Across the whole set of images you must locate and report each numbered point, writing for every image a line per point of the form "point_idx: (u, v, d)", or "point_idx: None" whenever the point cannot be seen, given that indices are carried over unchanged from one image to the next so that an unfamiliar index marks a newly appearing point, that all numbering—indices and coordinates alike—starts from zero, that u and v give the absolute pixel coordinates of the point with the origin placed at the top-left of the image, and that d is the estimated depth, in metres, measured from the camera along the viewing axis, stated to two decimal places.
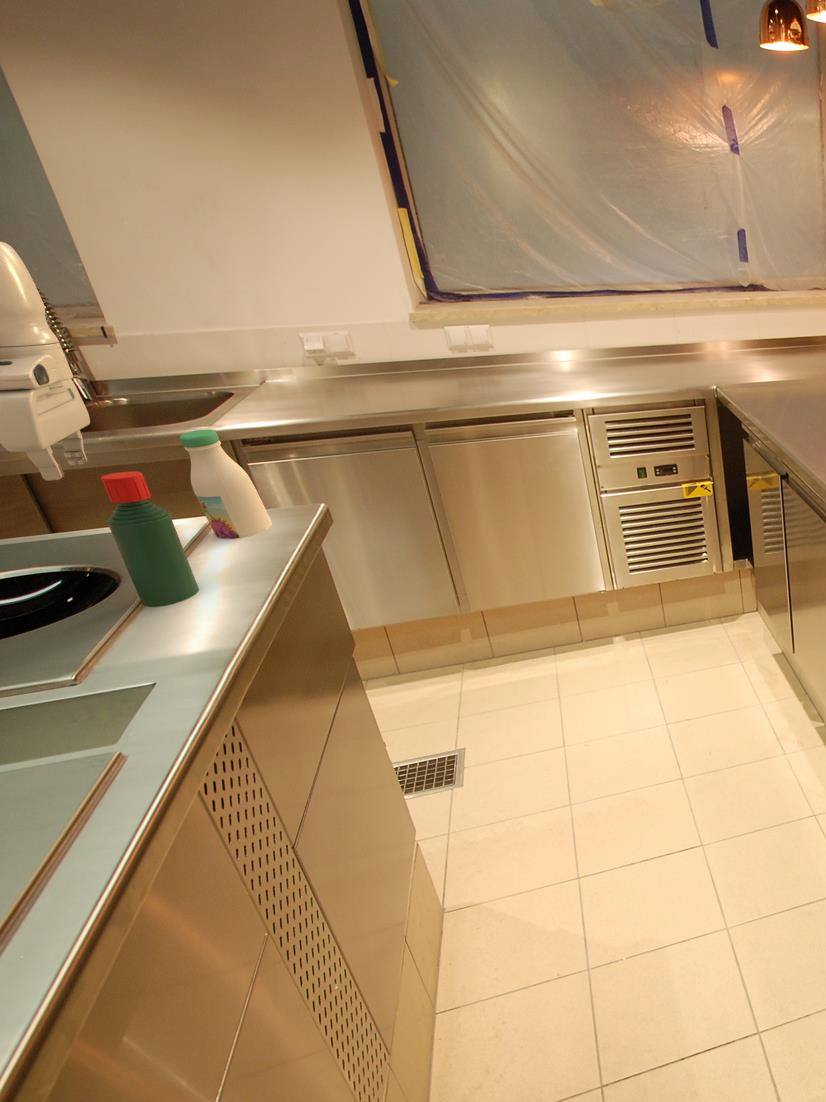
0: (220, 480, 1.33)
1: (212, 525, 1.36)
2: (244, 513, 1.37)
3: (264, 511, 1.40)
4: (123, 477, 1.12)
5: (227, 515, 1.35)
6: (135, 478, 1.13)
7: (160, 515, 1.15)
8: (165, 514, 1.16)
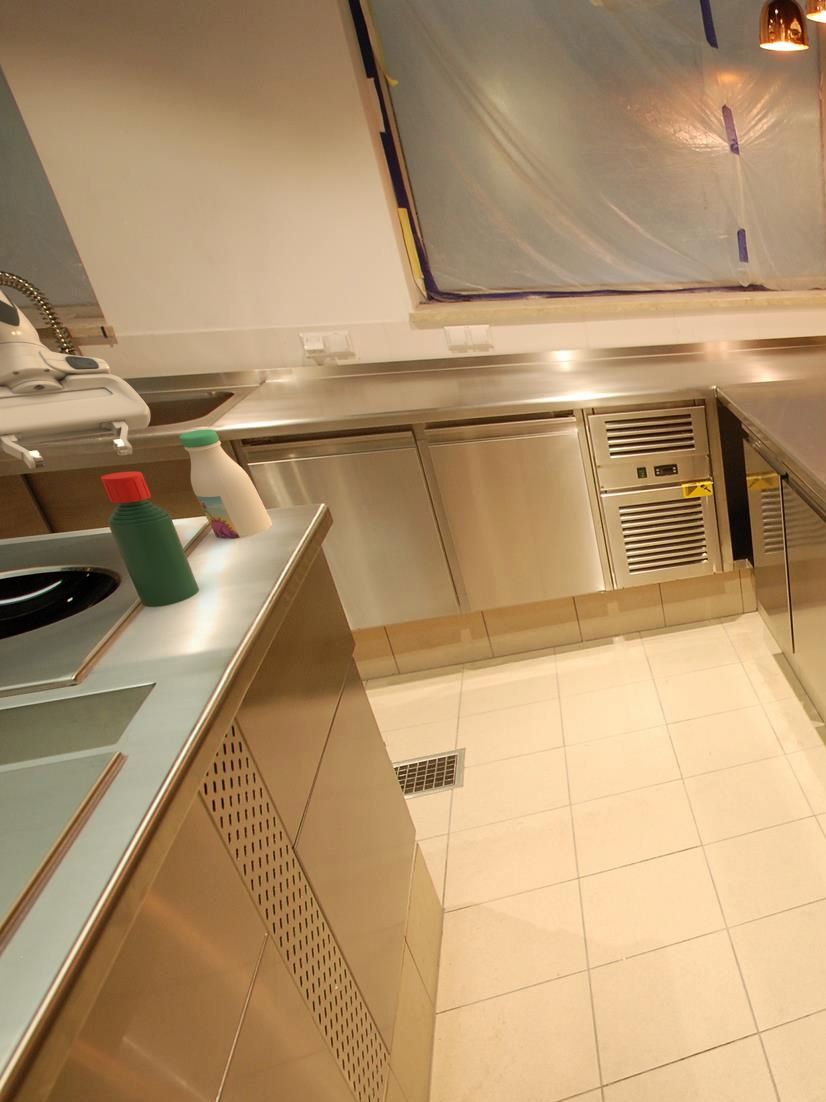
0: (220, 480, 1.33)
1: (212, 525, 1.36)
2: (244, 513, 1.37)
3: (264, 511, 1.40)
4: (123, 477, 1.12)
5: (227, 515, 1.35)
6: (135, 478, 1.13)
7: (160, 515, 1.15)
8: (165, 514, 1.16)
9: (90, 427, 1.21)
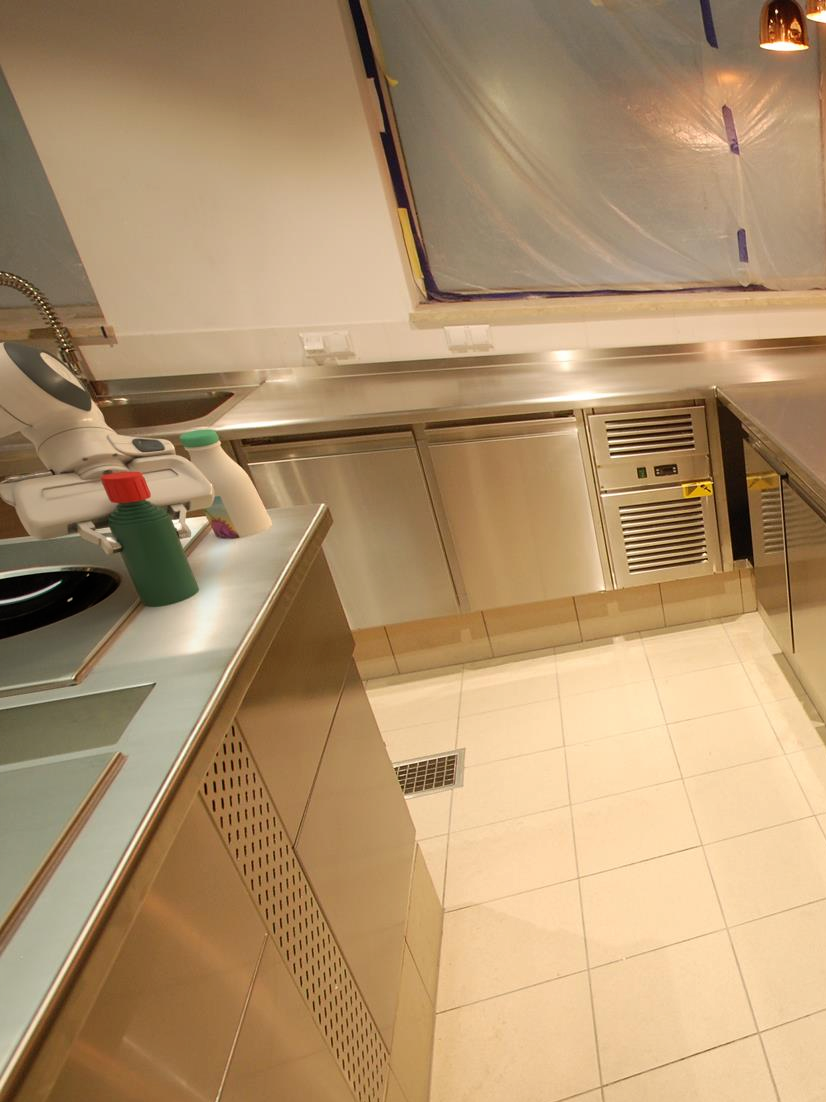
0: (220, 480, 1.33)
1: (212, 525, 1.36)
2: (244, 513, 1.37)
3: (264, 511, 1.40)
4: (123, 477, 1.12)
5: (227, 515, 1.35)
6: (135, 478, 1.13)
7: (160, 515, 1.15)
8: (165, 514, 1.16)
9: None
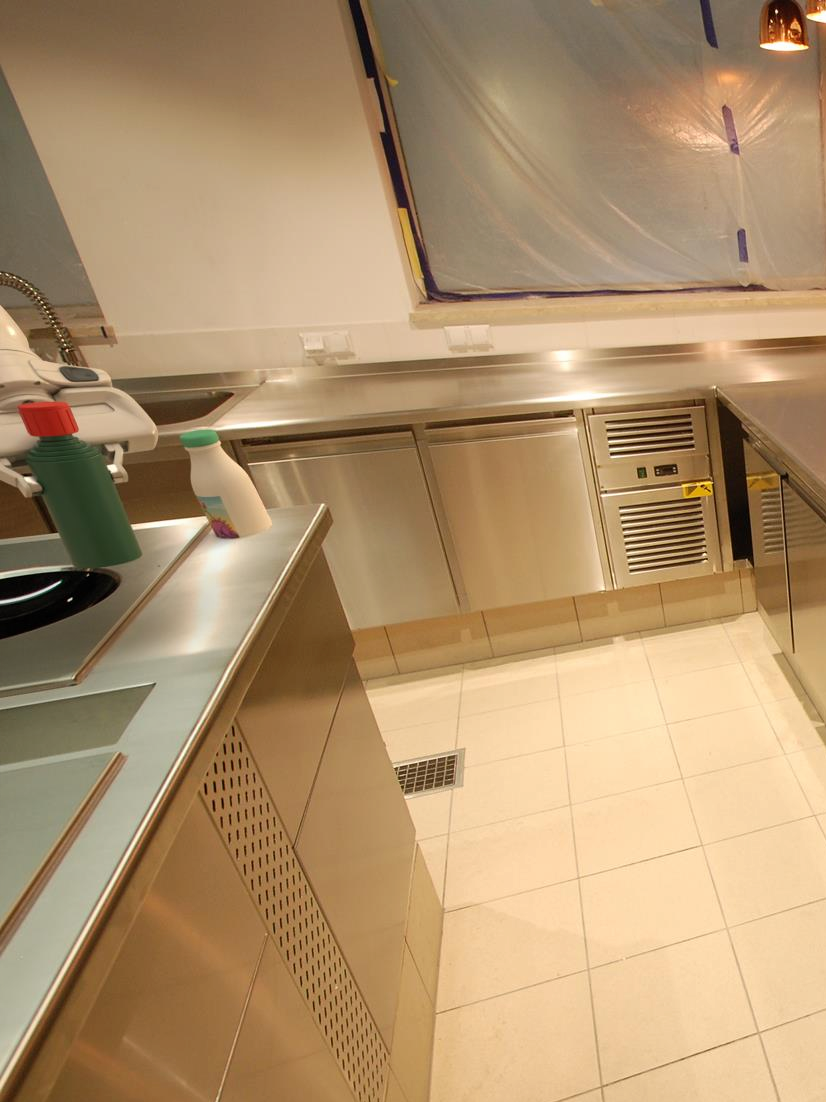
0: (220, 480, 1.33)
1: (212, 525, 1.36)
2: (244, 513, 1.37)
3: (264, 511, 1.40)
4: (44, 406, 0.96)
5: (227, 515, 1.35)
6: (58, 408, 0.96)
7: (89, 453, 0.99)
8: (96, 452, 1.00)
9: None
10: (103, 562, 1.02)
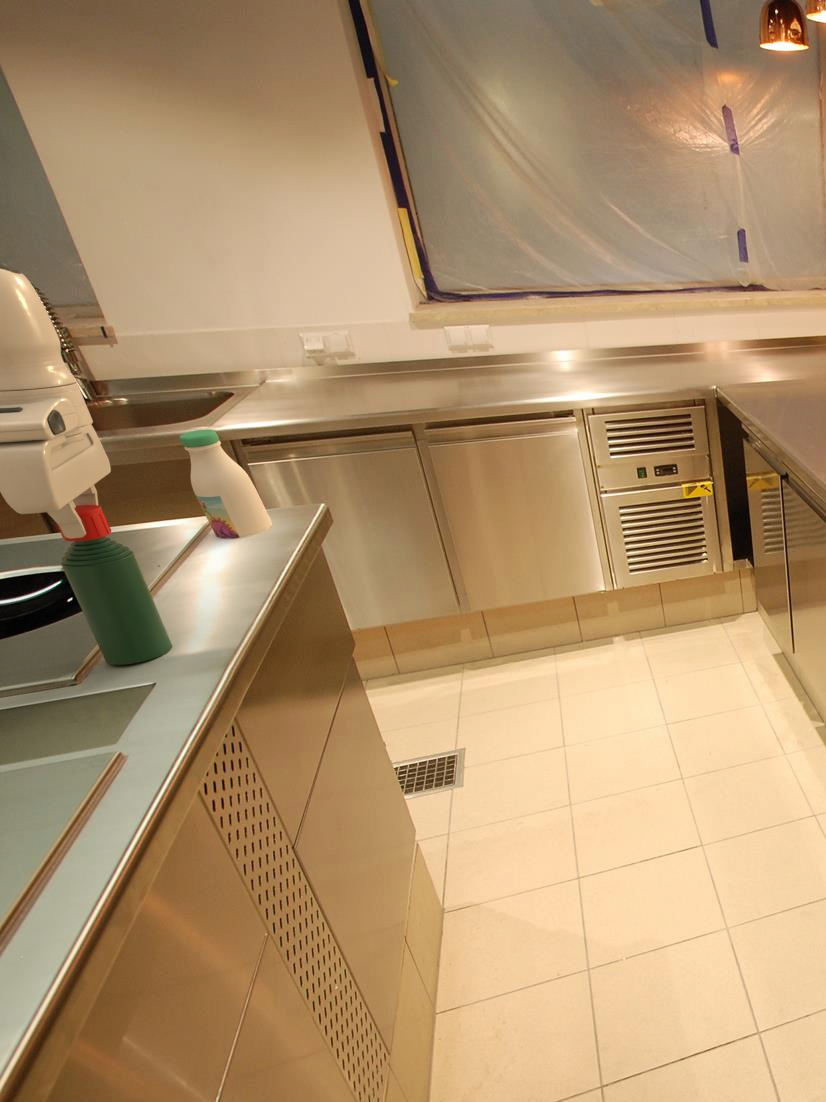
0: (220, 480, 1.33)
1: (212, 525, 1.36)
2: (244, 513, 1.37)
3: (264, 511, 1.40)
4: (78, 512, 0.98)
5: (227, 515, 1.35)
6: (92, 513, 0.99)
7: (122, 554, 1.01)
8: (128, 553, 1.02)
9: None
10: (135, 658, 1.04)
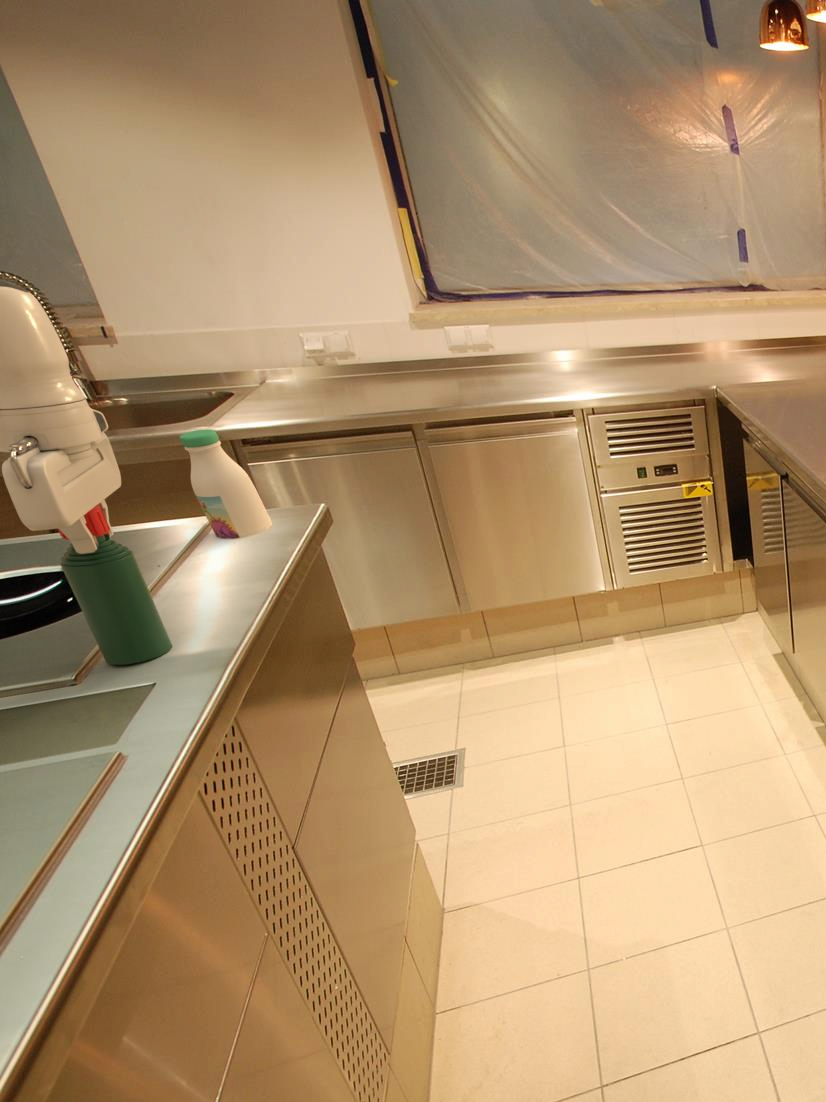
0: (220, 480, 1.33)
1: (212, 525, 1.36)
2: (244, 513, 1.37)
3: (264, 511, 1.40)
4: None
5: (227, 515, 1.35)
6: None
7: (121, 554, 1.01)
8: (127, 553, 1.02)
9: None
10: (135, 658, 1.04)
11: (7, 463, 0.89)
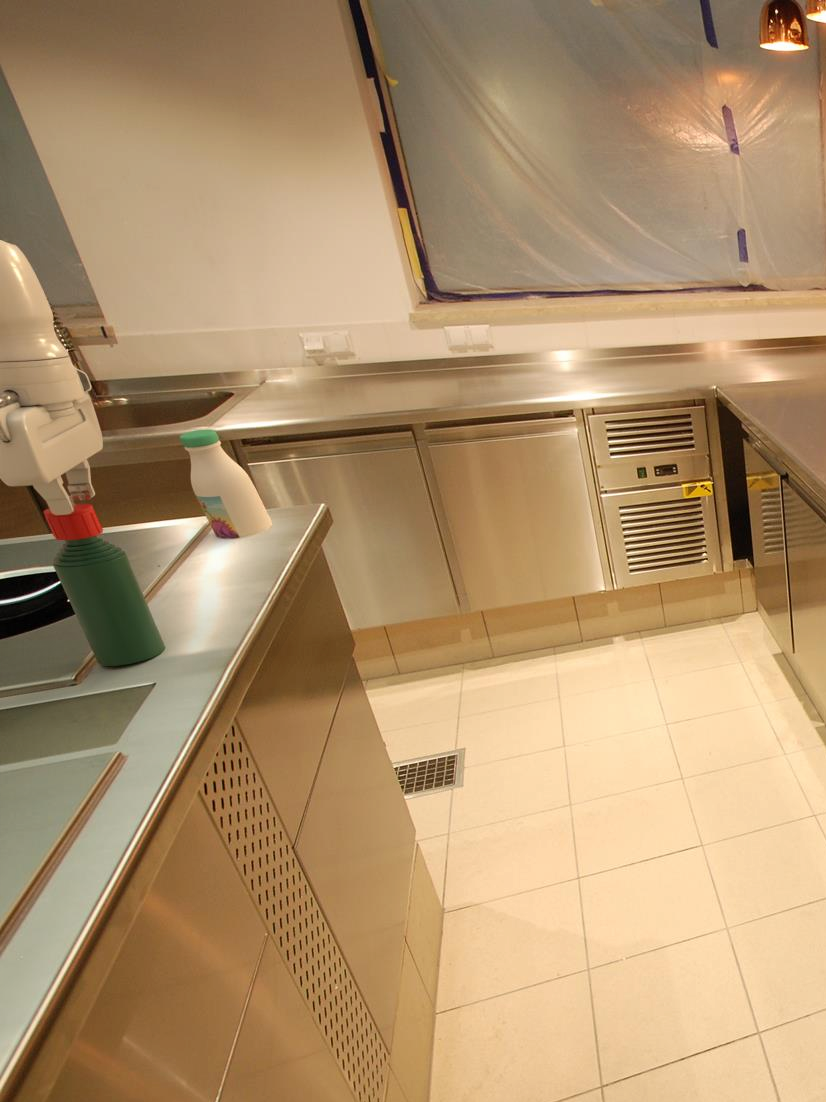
0: (220, 480, 1.33)
1: (212, 525, 1.36)
2: (244, 513, 1.37)
3: (264, 511, 1.40)
4: None
5: (227, 515, 1.35)
6: None
7: (114, 555, 1.01)
8: (120, 553, 1.02)
9: None
10: (128, 659, 1.04)
11: None
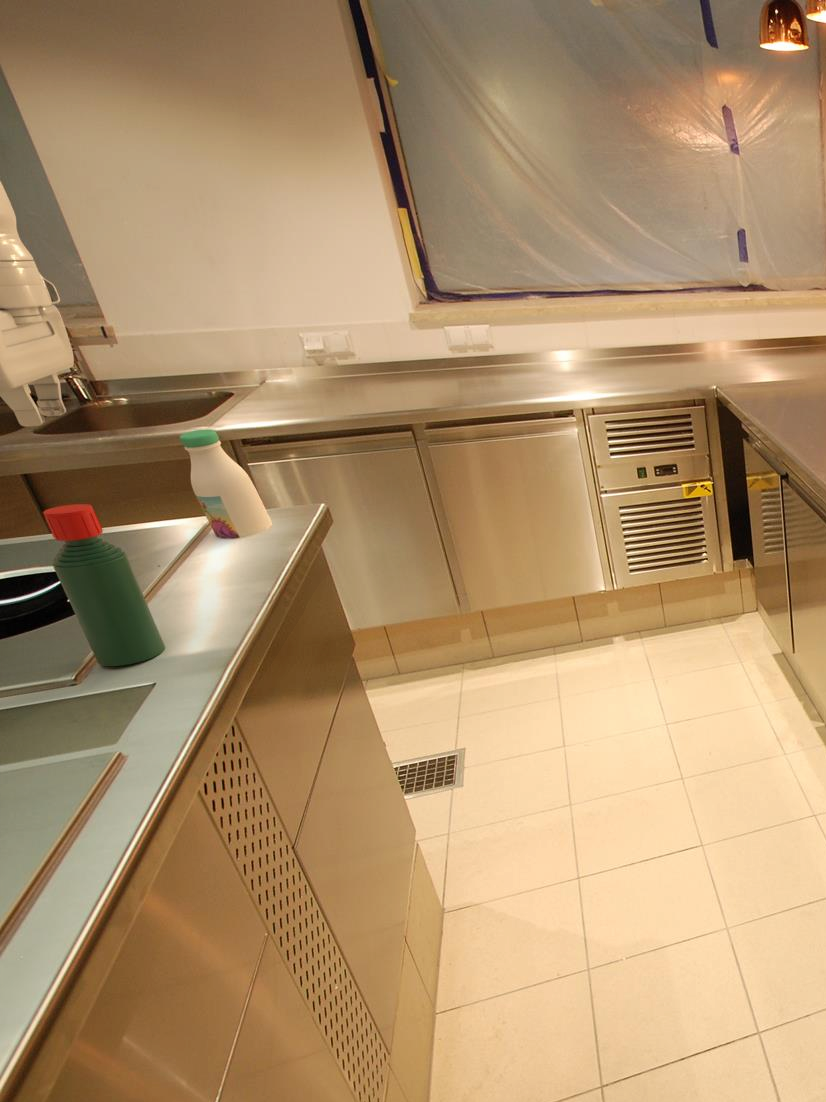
0: (220, 480, 1.33)
1: (212, 525, 1.36)
2: (244, 513, 1.37)
3: (264, 511, 1.40)
4: (66, 506, 0.99)
5: (227, 515, 1.35)
6: None
7: (114, 555, 1.01)
8: (120, 554, 1.02)
9: None
10: (128, 659, 1.04)
11: None
